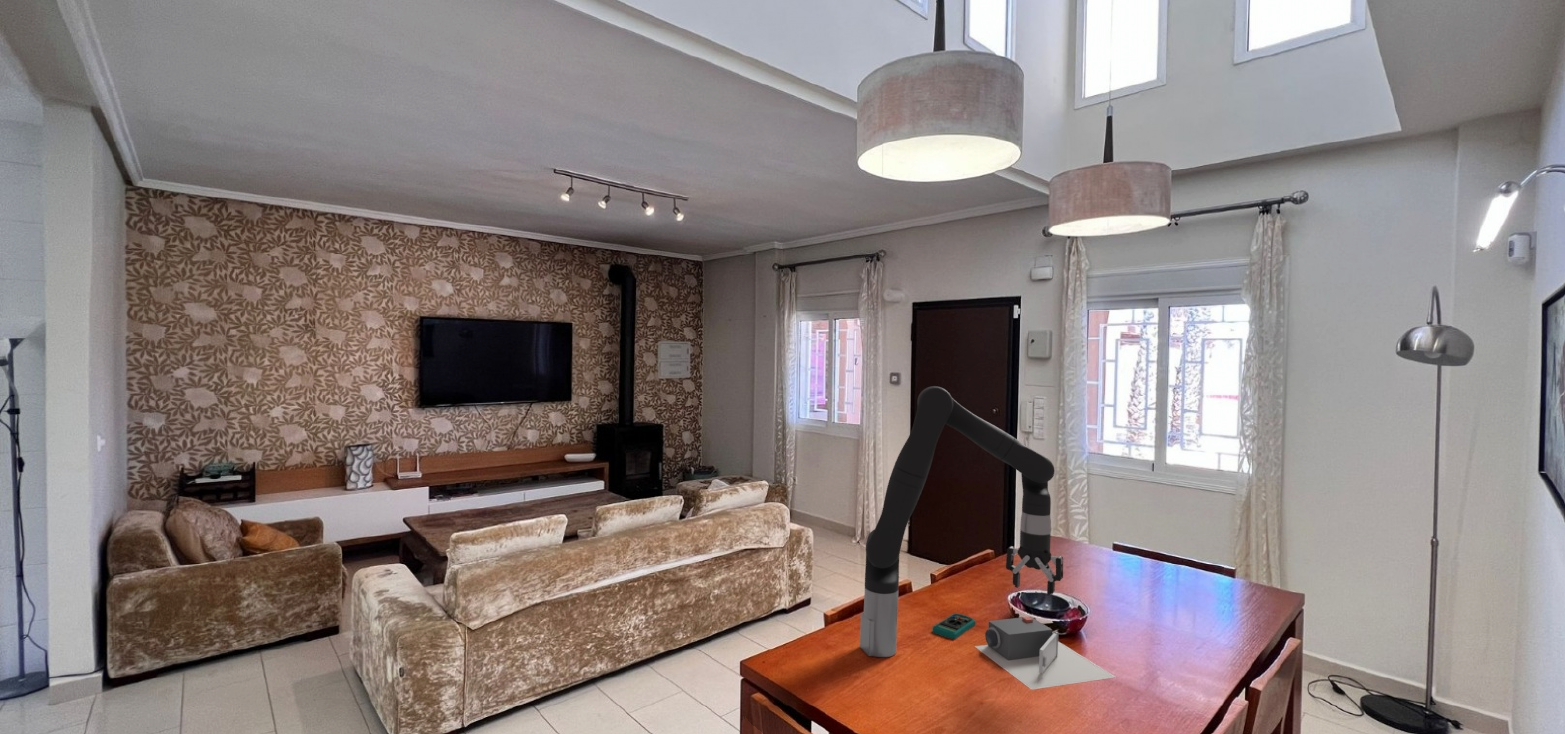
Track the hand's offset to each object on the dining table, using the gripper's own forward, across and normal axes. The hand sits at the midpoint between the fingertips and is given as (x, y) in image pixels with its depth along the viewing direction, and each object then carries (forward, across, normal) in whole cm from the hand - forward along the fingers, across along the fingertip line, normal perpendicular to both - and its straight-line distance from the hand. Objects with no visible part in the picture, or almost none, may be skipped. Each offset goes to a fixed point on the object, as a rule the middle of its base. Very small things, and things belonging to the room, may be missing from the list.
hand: (1033, 590), depth 169 cm
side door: (+20, +4, +3) cm, 20 cm away
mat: (+20, +2, +4) cm, 21 cm away
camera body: (+20, -5, +7) cm, 21 cm away
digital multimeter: (+21, -25, +8) cm, 33 cm away
